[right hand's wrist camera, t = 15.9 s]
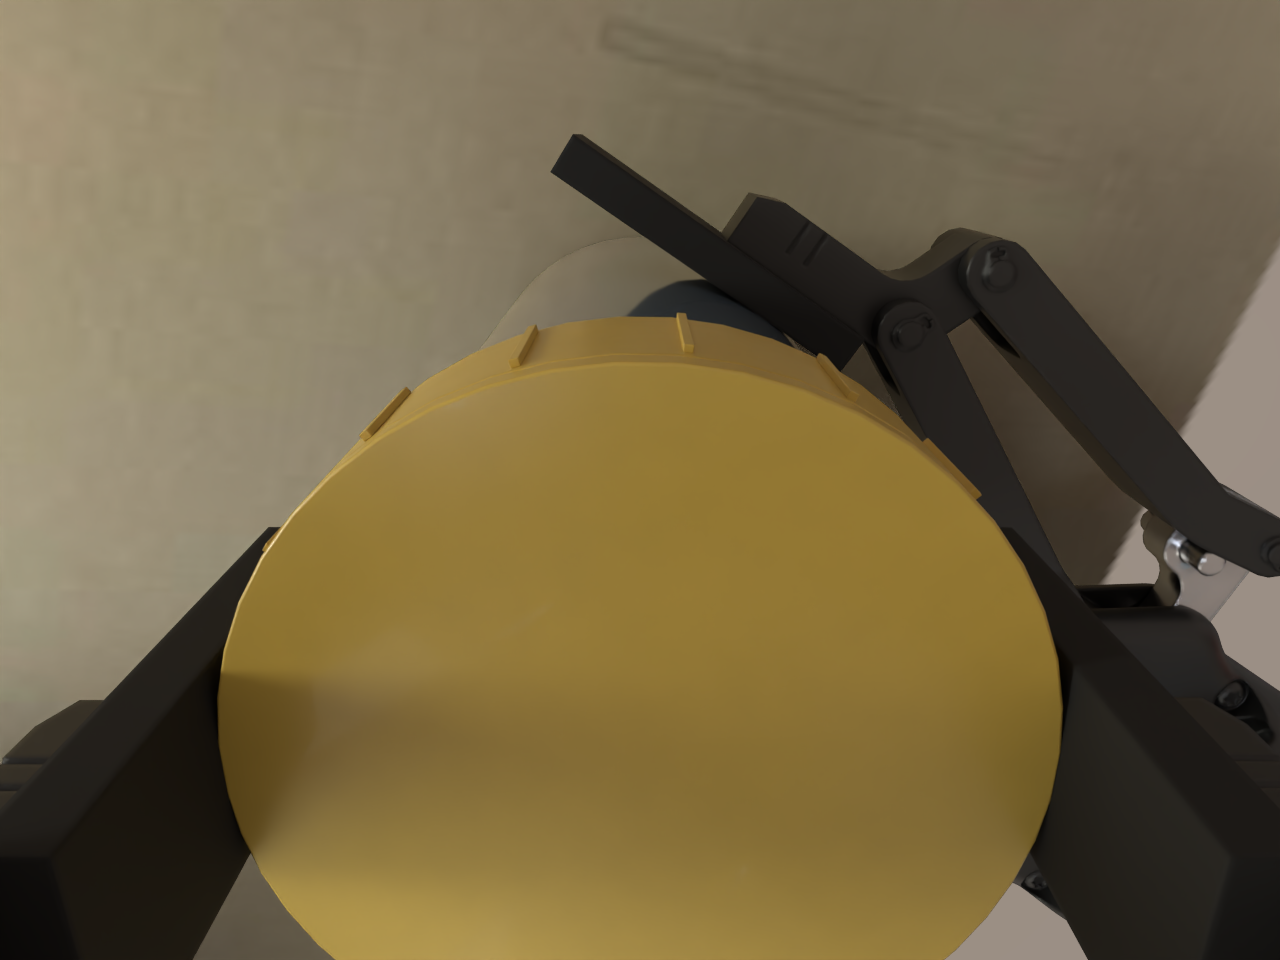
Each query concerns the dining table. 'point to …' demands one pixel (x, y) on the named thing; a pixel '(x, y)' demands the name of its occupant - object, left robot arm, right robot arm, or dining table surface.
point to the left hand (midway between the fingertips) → (448, 350)
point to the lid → (640, 668)
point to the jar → (624, 292)
